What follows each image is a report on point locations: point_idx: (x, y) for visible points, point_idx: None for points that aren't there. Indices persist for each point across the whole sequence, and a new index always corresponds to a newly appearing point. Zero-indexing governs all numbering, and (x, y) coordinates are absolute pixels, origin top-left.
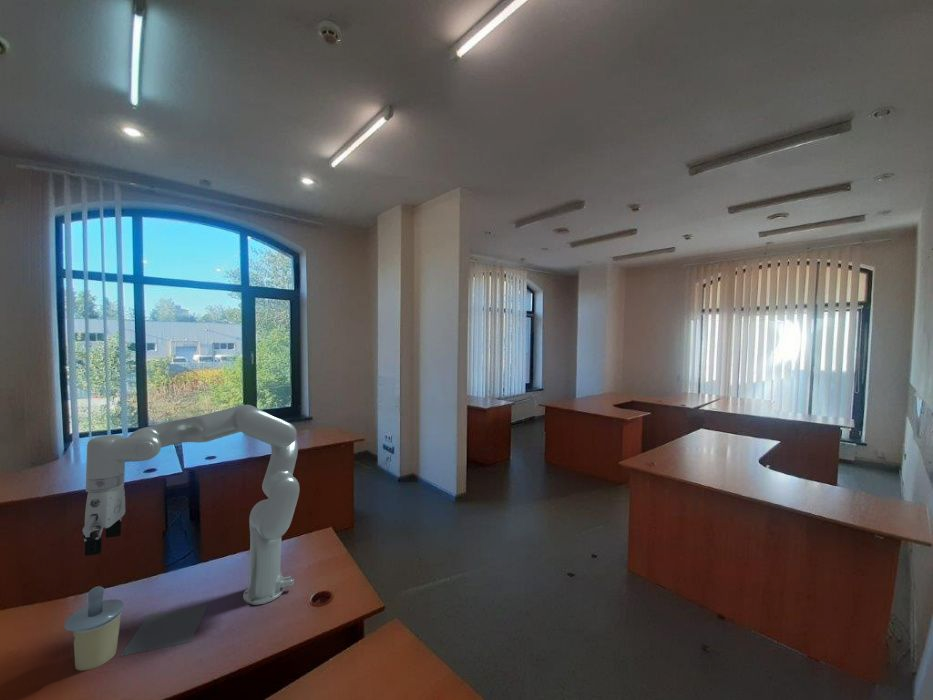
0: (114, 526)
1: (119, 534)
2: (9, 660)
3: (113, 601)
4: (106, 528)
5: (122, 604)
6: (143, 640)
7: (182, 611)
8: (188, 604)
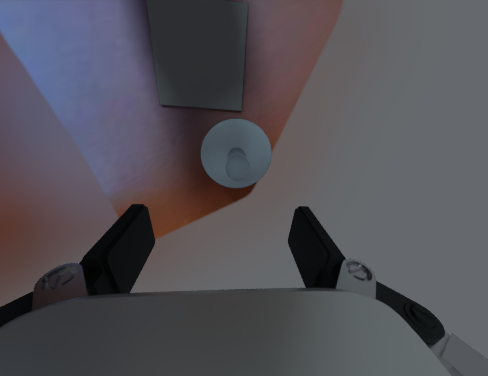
0: (124, 258)
1: (141, 208)
2: (204, 215)
3: (209, 142)
4: (136, 277)
5: (224, 122)
6: (219, 89)
7: (157, 44)
8: (132, 40)
